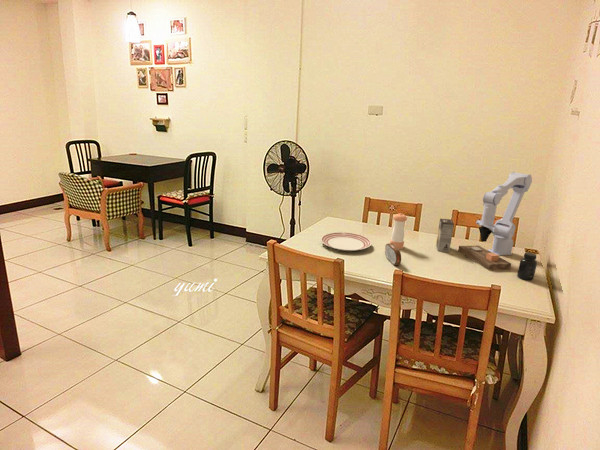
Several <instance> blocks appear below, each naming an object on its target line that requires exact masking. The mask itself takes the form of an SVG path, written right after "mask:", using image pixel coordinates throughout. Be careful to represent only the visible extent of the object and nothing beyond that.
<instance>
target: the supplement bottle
mask: <svg viewBox="0 0 600 450" xmlns="http://www.w3.org/2000/svg"><path fill="white" fill-rule="evenodd" d="M523 254H524V255H523V257H521V259H520V260H519V265H518V269H517V274H516V276H517V278H518V279H520V280H522V281H523V280H524V281H527V282H529V281H530V282H531V281H533V280H534V278H535V274H536V271H537V266H538V262H537V260H536V259H537V254H536V253H533V252H529V251H526V252H524V253H523Z"/></svg>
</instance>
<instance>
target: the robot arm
mask: <svg viewBox="0 0 600 450" xmlns="http://www.w3.org/2000/svg"><path fill="white" fill-rule="evenodd" d="M532 182H533V177H532V174H526V173H520V172H515V171H512V172H510V174H509V175H508V179H507V180H506V181H505V182H504V183H503V184H498V185H497V186H495V187H494V189H492V190H491V191H487V192H485V193H484V195H483V197H482V202H483V203H482V205H483V210H482V215H481V219H477V220H476V222H475V224H476V225H478V226H479V227H478V229H479V233H480V241H481V242H482V243H483V242H484V243H485V242H487V240H488V239H489V237H490V235H491V234H492V236H493V242H492V247H491V249H490V248H489V249H488V248H487V250H488V251H490V252H491V253H495V254H497V255H499V256H512V255H513V253H512V251H513V248H514V247H513V246H514V239H513V237H514V235H515V232H516V231H515V230H516V225H515V223H514V222H513V220H514V218H515V216H516V214H517V211H518V209H519V207H520V205H521V202H522V200H523V197H524V195H525V193H527V192H528V191H529V189H530V187H531V185H532ZM510 189H512V190H513V193H512V194H511V197H510V200H509V202H508V203H507V207H506V209H505V211H504V214H503V215H502V218H500V219H497V220H495V217H496V212H497V207H498V205H499V204H500V203H501V200H502V199H503V198H504V196H506V195H507V194H508V192H509V190H510ZM494 221H495V223H494Z"/></svg>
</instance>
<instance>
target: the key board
mask: <svg viewBox="0 0 600 450" xmlns="http://www.w3.org/2000/svg"><path fill="white" fill-rule="evenodd" d="M471 247H478V248H480V249H482V251H481V252H475V251H473V250H471ZM457 252H459V253H460V254H462V255H463V256H466V257H467V258H468V259H470V260H471V261H473V262H474V263H476V264H478V265H480V266H481V267H483V268H484V269H486V270H488V271H498V270H499V271H500V270H501V271H504V270H511V268H512V263H511V262H509V261H507V260H506V259H504V258H502V257H500V256H499V259H498V261H490V260H488V259H486V254H487V253H492V252H490V251H488V249H486V248H484V247H482V246H480V245H459V246H458V249H457Z"/></svg>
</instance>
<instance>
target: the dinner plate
mask: <svg viewBox="0 0 600 450" xmlns="http://www.w3.org/2000/svg"><path fill="white" fill-rule="evenodd" d="M320 241H321V243H322V244H323V245H325V246H327V247H329V248H331V249H335V250H339V251H343V252H355V251H356V252H357V251H362V250H365V249H368V248H369V247H370V246H371V245H372V240H371V239H369V238H368V237H367V236H364V235H362V234H358V233H353V232H346V231H345V232H343V231H339V232H338V231H337V232H329V233H326V234H324V235H323V236H321V237H320Z"/></svg>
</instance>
